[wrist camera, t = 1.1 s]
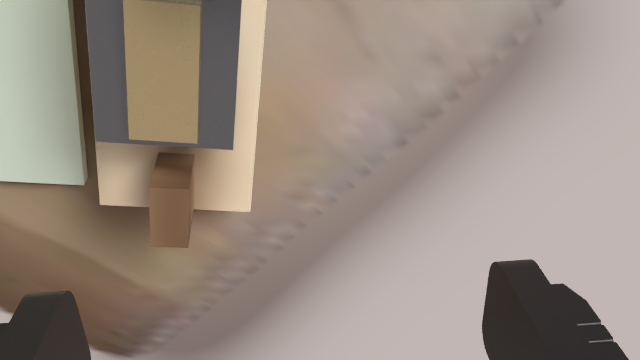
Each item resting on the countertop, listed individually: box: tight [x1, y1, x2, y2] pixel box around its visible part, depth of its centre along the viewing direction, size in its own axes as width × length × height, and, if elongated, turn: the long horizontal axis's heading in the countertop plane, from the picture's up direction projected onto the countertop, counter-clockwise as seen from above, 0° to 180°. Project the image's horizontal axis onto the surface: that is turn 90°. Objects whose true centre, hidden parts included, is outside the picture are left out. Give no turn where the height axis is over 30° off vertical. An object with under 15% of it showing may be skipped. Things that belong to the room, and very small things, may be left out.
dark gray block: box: [85, 0, 242, 150], centre depth 21 cm, size 5×9×5 cm, turn 173°
